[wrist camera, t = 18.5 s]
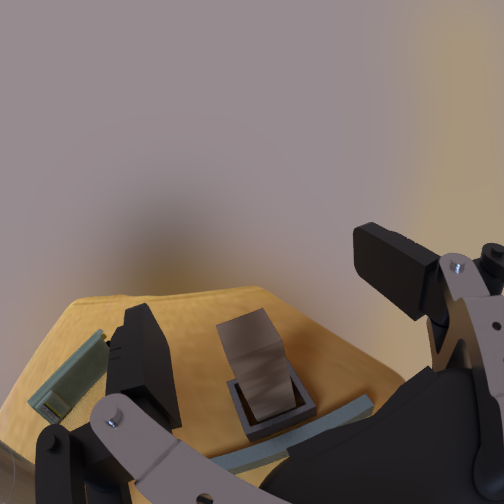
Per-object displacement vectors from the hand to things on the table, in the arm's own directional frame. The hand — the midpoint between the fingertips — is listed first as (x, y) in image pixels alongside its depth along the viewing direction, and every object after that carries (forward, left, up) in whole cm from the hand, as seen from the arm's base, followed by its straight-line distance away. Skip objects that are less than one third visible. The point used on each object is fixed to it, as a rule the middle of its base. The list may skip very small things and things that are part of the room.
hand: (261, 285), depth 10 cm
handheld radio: (-35, +15, -27) cm, 47 cm away
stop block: (-3, +10, -26) cm, 28 cm away
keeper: (-4, +8, -26) cm, 28 cm away
